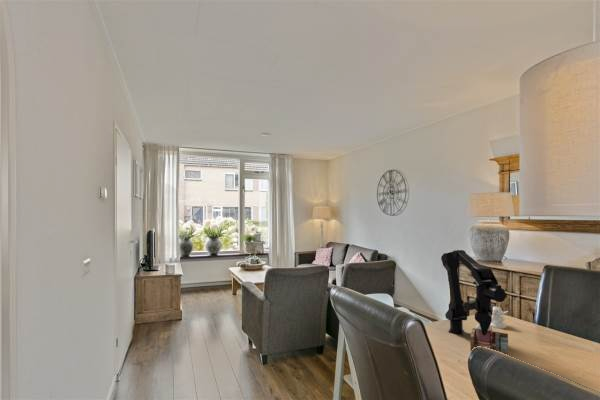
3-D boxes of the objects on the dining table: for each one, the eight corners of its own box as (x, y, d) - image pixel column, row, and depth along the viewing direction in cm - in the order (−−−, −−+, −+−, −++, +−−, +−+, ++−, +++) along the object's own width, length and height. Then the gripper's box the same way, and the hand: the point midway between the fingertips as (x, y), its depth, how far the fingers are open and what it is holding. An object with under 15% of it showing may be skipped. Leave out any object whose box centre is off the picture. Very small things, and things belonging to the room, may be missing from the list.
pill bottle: (495, 349, 141) (494, 323, 142) (479, 347, 143) (478, 322, 143) (490, 343, 147) (489, 318, 148) (475, 342, 149) (474, 317, 149)
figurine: (512, 326, 174) (511, 306, 174) (504, 330, 168) (503, 309, 169) (488, 320, 183) (488, 301, 184) (480, 324, 178) (480, 304, 179)
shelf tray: (472, 340, 155) (472, 327, 155) (508, 346, 147) (507, 332, 148) (470, 350, 144) (470, 335, 144) (508, 357, 136) (508, 342, 137)
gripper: (465, 290, 158) (466, 322, 158) (461, 298, 142) (462, 335, 142) (492, 292, 152) (493, 327, 152) (490, 301, 137) (492, 340, 136)
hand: (484, 331), depth 145 cm, fingers open, 9 cm apart
